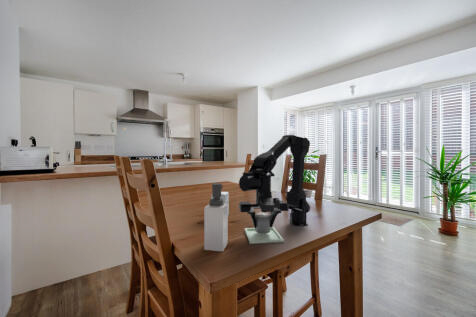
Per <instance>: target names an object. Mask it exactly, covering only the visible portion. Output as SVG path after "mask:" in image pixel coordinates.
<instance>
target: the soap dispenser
mask: <svg viewBox="0 0 476 317" xmlns="http://www.w3.org/2000/svg"><path fill="white" fill-rule="evenodd" d="M211 186H212V188H211V190H212V193H211V194H212V197H214V198H213V199H211V198H210V199H209V203H208V204H207V205H206V206H204V209H203V210H204V211H203V212H204V213H203V214H204V218H203V219H204V220H203V221H204V227H203V228H204V229H203V230H204V234H203V235H204V239H203V240H204V242H203V243H204V245H203V246H204V251H213V252H224V250H225V248H226V247H227V245H228V241H229V240H228V238H229V237H228V231H229V229H228V225H229V224H228V222H229V221H228V220H229V219H228V217H229V214H228V204H225V203H223V199H220V197H221V192H222V189H223V184H222V183H221V182H219V183H218V182H217V183H215V182H213V183H211Z"/></svg>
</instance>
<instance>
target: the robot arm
mask: <svg viewBox="0 0 476 317" xmlns="http://www.w3.org/2000/svg"><path fill="white" fill-rule="evenodd" d="M310 145H311V142H310V140H309V139H308V137H301V136H297V135H294V134H284V135H282V137H281V138H280V139H279V140H278V141H277V142H276V143H274V145H273V146H272V147H271V148H270V149H269V150H268V151H265V152H262V153H261V154H259V155H257V156H255V158H254V160H253V162H252V165H250V166H251V167H250V168H249V170H248V172H247V171H244V172H242V176H241V177H239V180H238V186H239V188H240V190H241V191H243V192H250V191H254V190H255V203H251V202H250V201H240V202H239V203H238V210H239V212H240V213H246V214H248V215H249V216H250V218H251V221H252V224H253V228H256V219H255V215H256V211H255V209H256V210H257V209H260V211H261V212H263V213H269V215H270V227H271V228H272V227H274V223H275V221H276V219H277V216H278V215H279V214H281V213H282V212H289V210H290V212H289V222H290V223H291V224H292V225H293V226H295V227H296V226H297V227H298V226H308V225H309V224H308V223H307V213H309V212H310V210H311V205H309V203H308V201H307V195H306V192H305V191H304V173H305V172H304V171H305V159H306V158H305V157H307V155H308V153H309V151H310ZM289 148H290V149H289ZM288 149H289V151H290V153H291V155H292V157H293V159H292V175H291V188H290V189H289V191H286V197H285V198H286V199H285V200H286V201H285V200H280V197H273V196H272V194H273V193H272V190H271V189H272V177H275V175H276V174H275V173H273V169H274V168H275V166H276V165H277V161H278V159H279V158H280V157H281V156H282V155H283V154H284V153H285V152H286V151H287V150H288Z"/></svg>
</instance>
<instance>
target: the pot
mask: <svg viewBox="0 0 476 317" xmlns="http://www.w3.org/2000/svg"><path fill="white" fill-rule="evenodd" d="M255 219H256V228H255V232H257V233H261V234H266V233H269V232H270V213H269V212H262V211H261V212H257V213H256V212H255Z"/></svg>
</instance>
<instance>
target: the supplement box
mask: <svg viewBox="0 0 476 317" xmlns="http://www.w3.org/2000/svg"><path fill="white" fill-rule="evenodd" d="M229 193H230V192H229V191H221V197H220V199H223V203H225V204H228V215H229V210H230V209H229V208H230V207H229V205H230V204H229V201H230V200H229V199H230V198H229V196H230V194H229ZM210 197H211V198H210V199H213V198H214V197H212V193H211V195H210Z"/></svg>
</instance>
